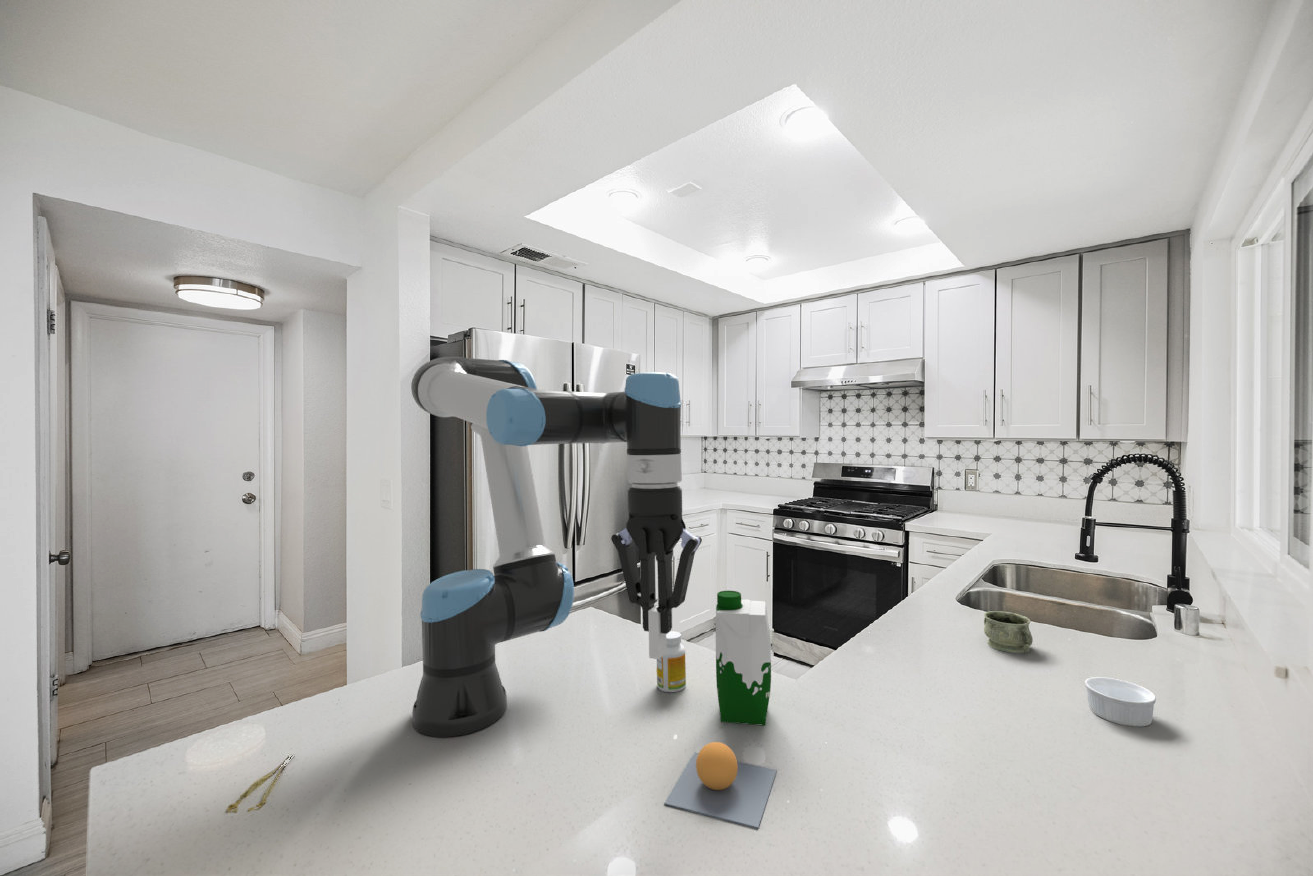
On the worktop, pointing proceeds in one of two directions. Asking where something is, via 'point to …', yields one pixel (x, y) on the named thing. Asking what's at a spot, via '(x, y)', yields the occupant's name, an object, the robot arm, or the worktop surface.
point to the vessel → (1007, 631)
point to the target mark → (725, 794)
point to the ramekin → (1120, 701)
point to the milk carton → (742, 659)
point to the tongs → (256, 785)
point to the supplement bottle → (672, 665)
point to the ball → (716, 766)
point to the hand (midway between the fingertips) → (658, 654)
